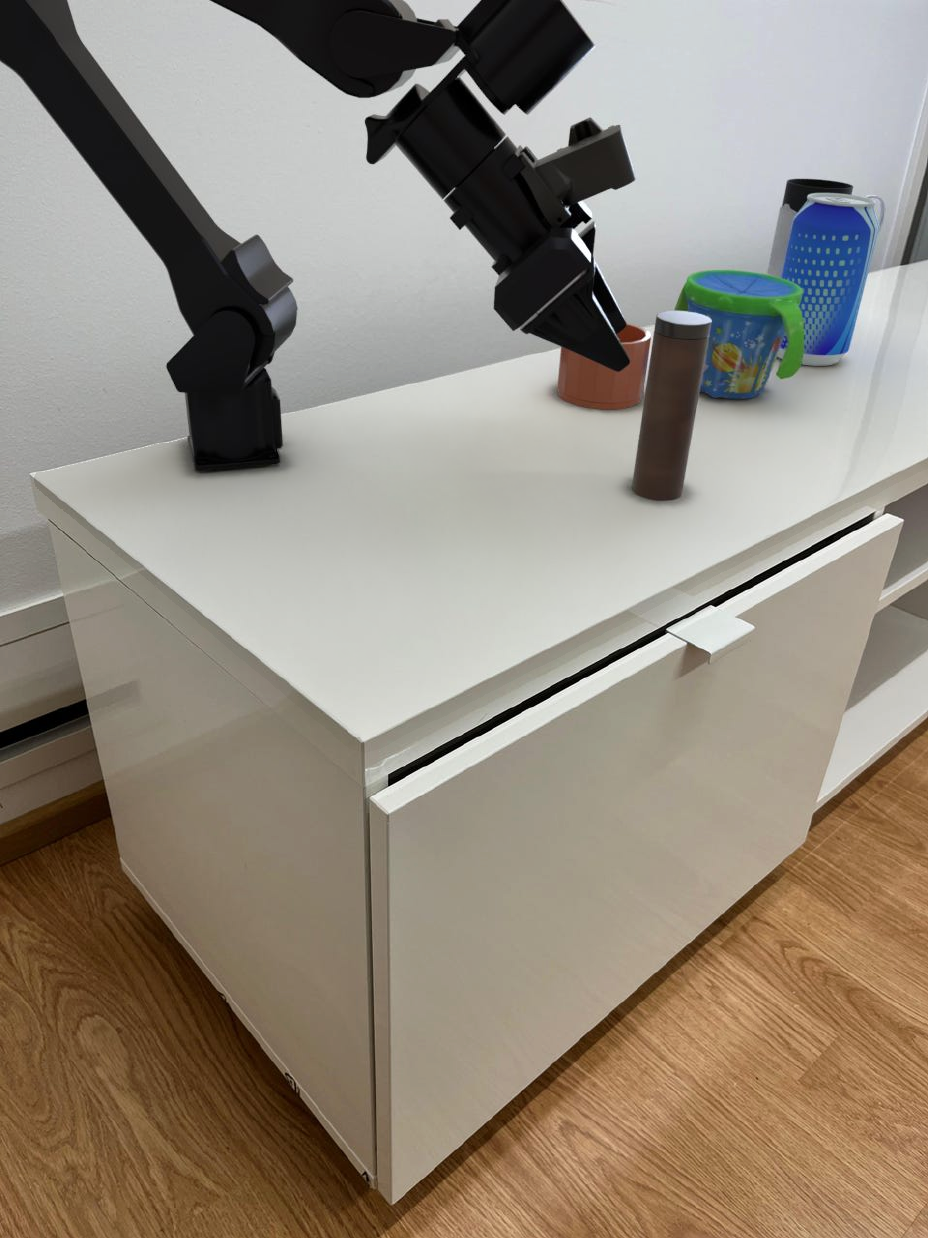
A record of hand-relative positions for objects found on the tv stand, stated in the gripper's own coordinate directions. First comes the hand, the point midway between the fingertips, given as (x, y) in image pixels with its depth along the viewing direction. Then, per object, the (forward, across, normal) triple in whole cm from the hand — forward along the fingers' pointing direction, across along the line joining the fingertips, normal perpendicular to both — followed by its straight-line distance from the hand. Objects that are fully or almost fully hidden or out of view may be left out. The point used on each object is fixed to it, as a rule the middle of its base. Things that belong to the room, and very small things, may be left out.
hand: (623, 347), depth 69 cm
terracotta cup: (+7, +21, +8) cm, 24 cm away
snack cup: (+16, +26, -1) cm, 30 cm away
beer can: (+23, +39, -8) cm, 46 cm away
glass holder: (+26, +59, -11) cm, 65 cm away
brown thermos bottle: (+10, 0, +5) cm, 11 cm away
